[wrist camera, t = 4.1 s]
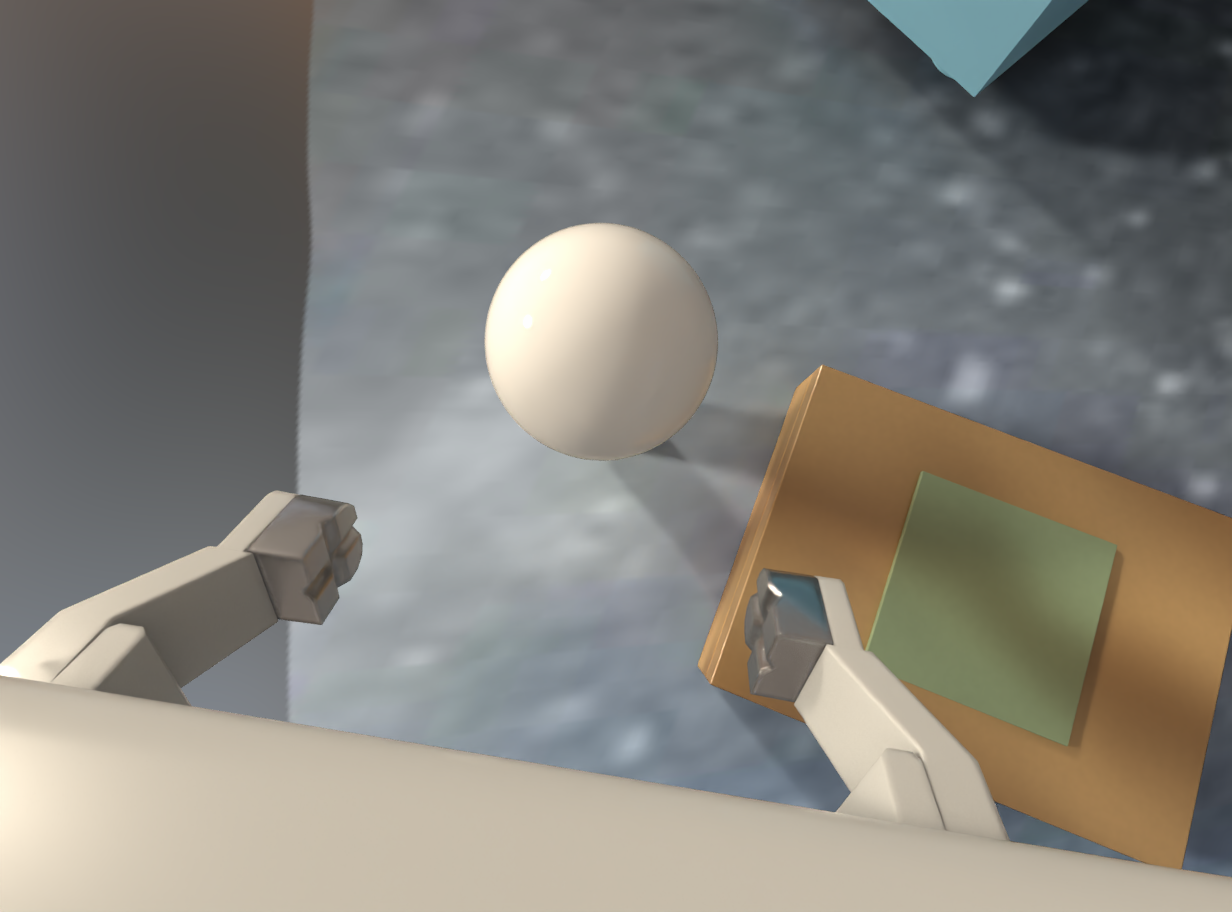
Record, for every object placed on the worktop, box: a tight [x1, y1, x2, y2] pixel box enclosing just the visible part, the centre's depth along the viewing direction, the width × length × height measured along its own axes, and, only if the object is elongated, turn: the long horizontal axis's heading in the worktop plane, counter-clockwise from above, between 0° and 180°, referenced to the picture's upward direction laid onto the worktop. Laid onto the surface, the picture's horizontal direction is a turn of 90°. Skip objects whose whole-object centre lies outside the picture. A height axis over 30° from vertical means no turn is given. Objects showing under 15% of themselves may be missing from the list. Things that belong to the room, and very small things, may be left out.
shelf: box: [698, 365, 1232, 869], centre depth 21 cm, size 12×16×3 cm
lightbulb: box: [485, 223, 718, 461], centre depth 18 cm, size 6×6×11 cm
